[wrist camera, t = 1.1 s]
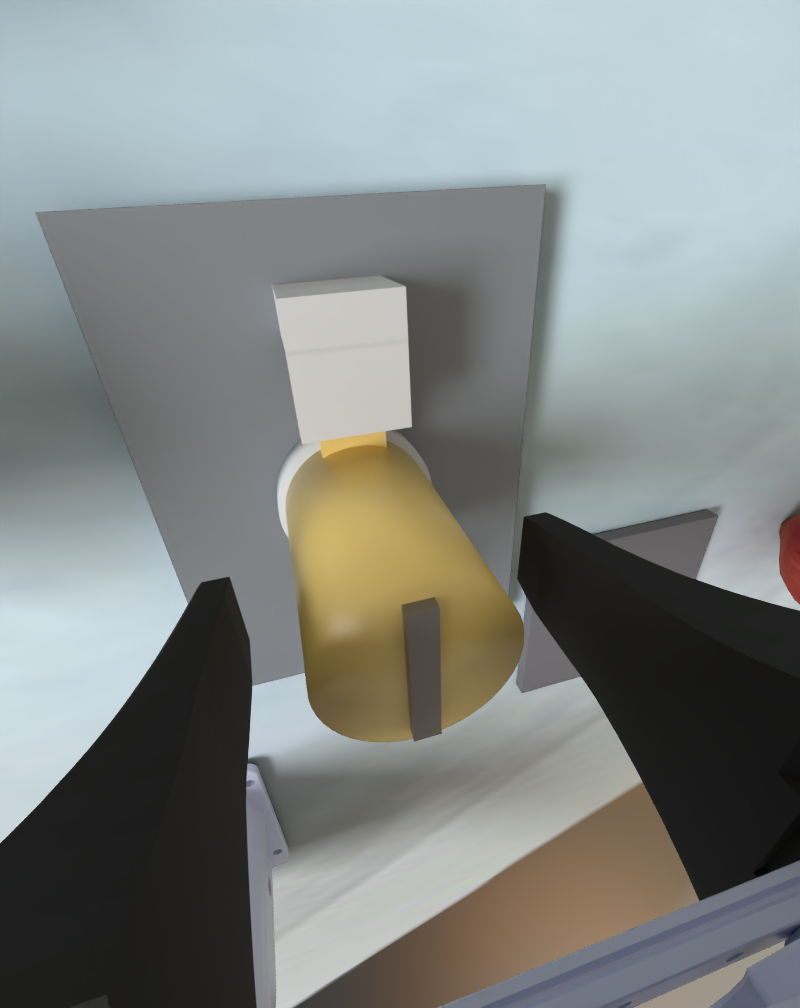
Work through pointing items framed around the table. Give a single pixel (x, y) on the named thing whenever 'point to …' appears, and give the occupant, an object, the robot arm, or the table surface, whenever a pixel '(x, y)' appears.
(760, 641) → the robot arm
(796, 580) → the onion
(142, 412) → the post base
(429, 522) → the yellow rounded piece
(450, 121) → the table surface
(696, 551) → the mat
